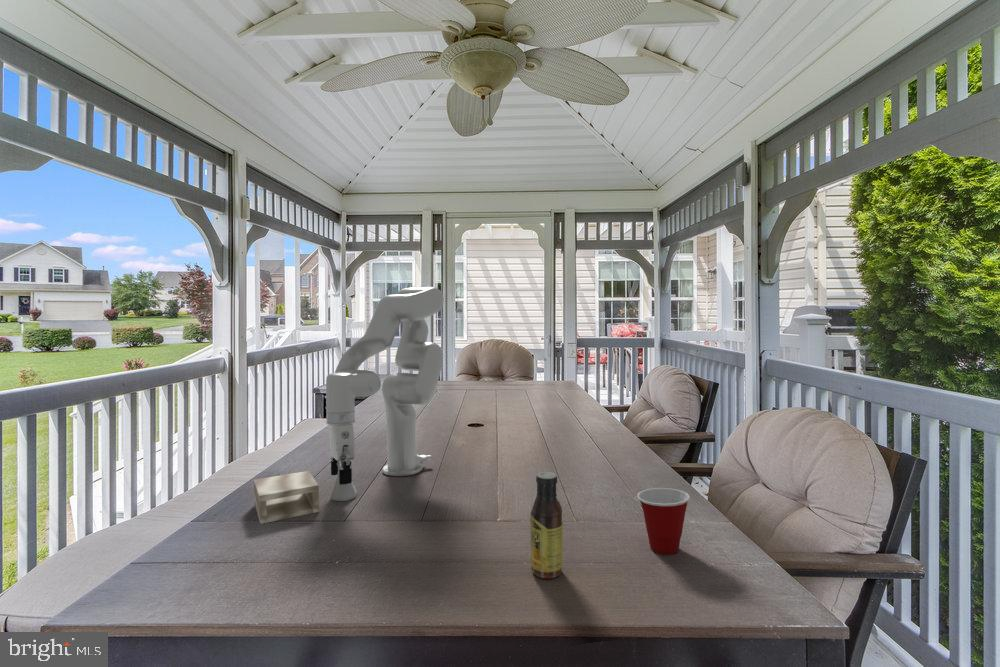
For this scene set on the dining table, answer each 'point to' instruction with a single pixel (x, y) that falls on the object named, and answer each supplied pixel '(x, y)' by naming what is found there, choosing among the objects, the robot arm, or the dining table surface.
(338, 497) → the flask
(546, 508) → the sauce bottle
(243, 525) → the dining table surface
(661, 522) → the plastic cup
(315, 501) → the grooved beige box
